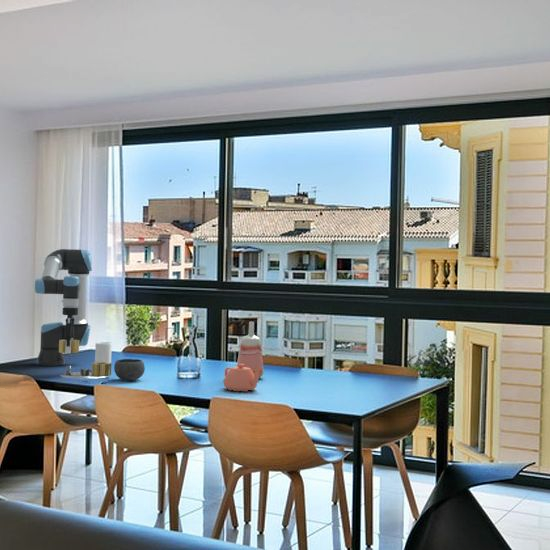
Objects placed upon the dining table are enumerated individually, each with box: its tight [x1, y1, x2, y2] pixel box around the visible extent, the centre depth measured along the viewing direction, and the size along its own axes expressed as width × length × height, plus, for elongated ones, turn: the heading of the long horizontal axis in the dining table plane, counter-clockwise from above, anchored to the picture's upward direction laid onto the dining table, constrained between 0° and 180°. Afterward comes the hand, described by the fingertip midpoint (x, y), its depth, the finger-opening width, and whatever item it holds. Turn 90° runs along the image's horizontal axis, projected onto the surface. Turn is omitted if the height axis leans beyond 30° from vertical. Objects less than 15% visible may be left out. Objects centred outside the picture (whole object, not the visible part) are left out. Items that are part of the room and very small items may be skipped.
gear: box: [59, 340, 80, 354], centre depth 392 cm, size 10×10×6 cm
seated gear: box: [90, 361, 112, 378], centre depth 395 cm, size 10×10×6 cm
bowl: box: [113, 358, 146, 382], centre depth 391 cm, size 15×15×10 cm
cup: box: [94, 341, 113, 364], centre depth 411 cm, size 8×8×16 cm
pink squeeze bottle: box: [236, 321, 264, 378], centre depth 412 cm, size 14×14×30 cm
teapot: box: [222, 364, 262, 392], centre depth 372 cm, size 22×16×12 cm
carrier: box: [59, 367, 110, 383], centre depth 393 cm, size 24×24×6 cm
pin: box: [65, 365, 72, 375], centre depth 392 cm, size 2×2×4 cm
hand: (69, 351), depth 392 cm, fingers closed on gear, 10 cm apart
